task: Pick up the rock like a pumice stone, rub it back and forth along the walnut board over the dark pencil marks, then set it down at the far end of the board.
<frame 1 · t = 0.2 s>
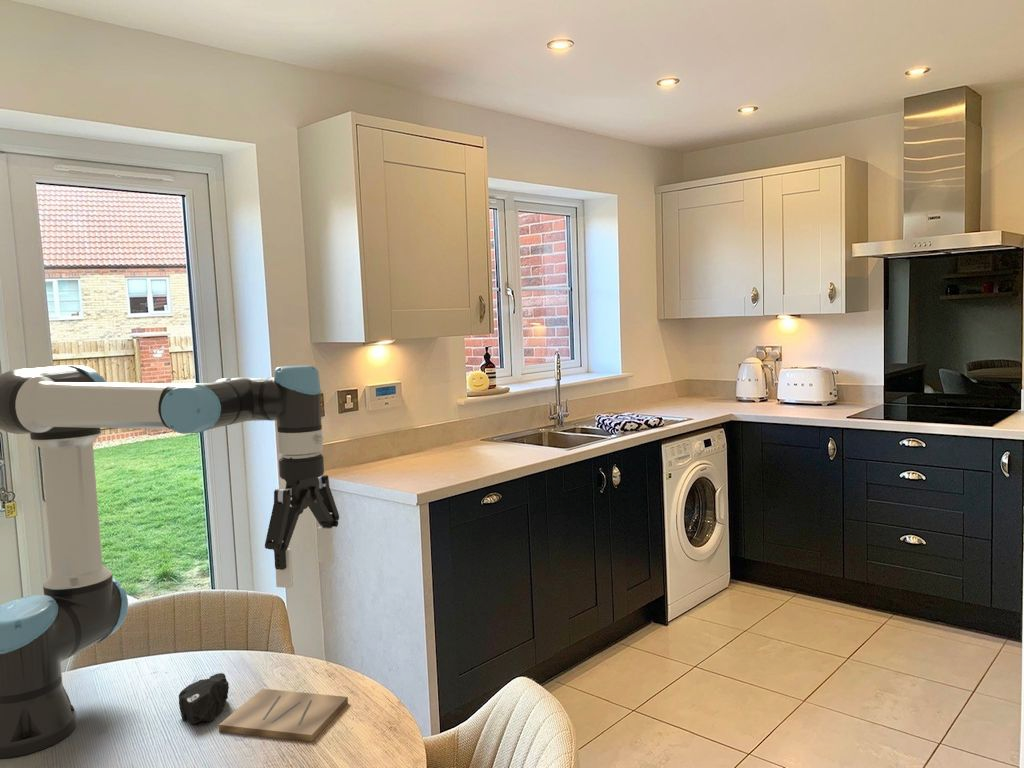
hand: (306, 574, 138), 27 cm above the table, fingers open, 13 cm apart
rock: (205, 713, 146), on the table
board: (285, 716, 144), on the table
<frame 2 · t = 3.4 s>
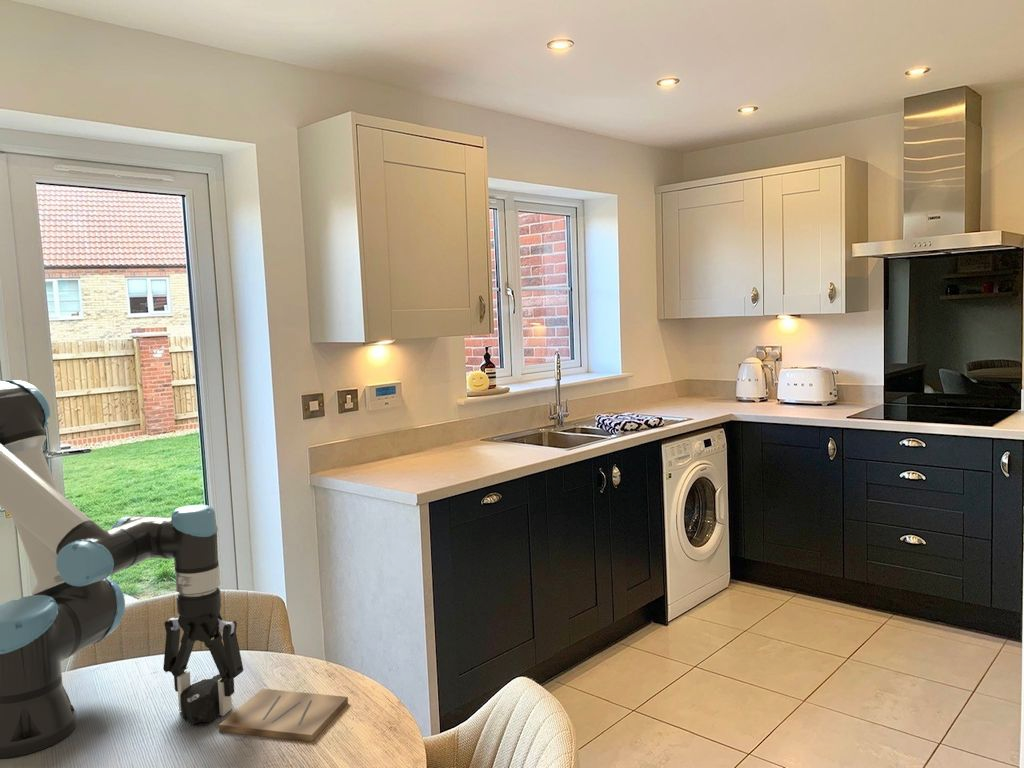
hand: (205, 709, 146), 0 cm above the table, fingers closed on rock, 8 cm apart
rock: (207, 713, 146), on the table, touching gripper
when the fingers open (2 cm above the table, at t = 14.9 s): rock stays where it is, resting on board.
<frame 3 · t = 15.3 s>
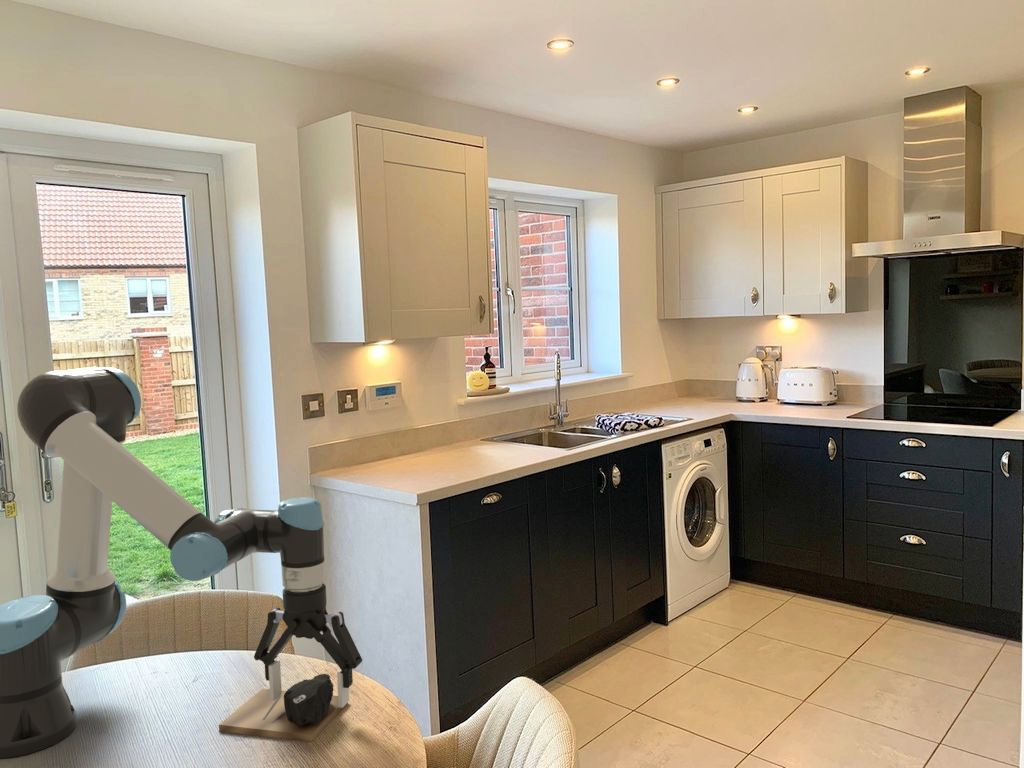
hand: (309, 700, 142), 3 cm above the table, fingers open, 13 cm apart
rock: (310, 714, 142), point 1 cm above the table, touching board
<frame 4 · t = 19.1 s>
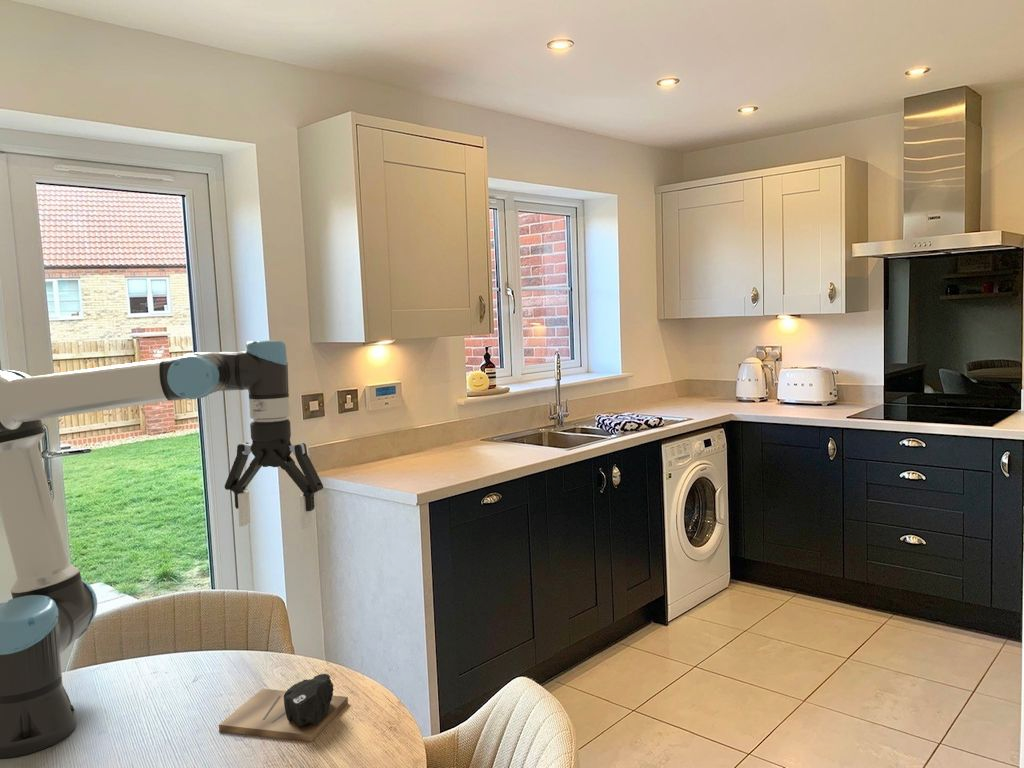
hand: (275, 526, 156), 32 cm above the table, fingers open, 13 cm apart
nothing on the table moved.
at the end: rock inside the target area (0.9 cm from its centre), point 1.0 cm above the table; rock moved 21.3 cm from its start; the gripper is holding nothing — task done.
